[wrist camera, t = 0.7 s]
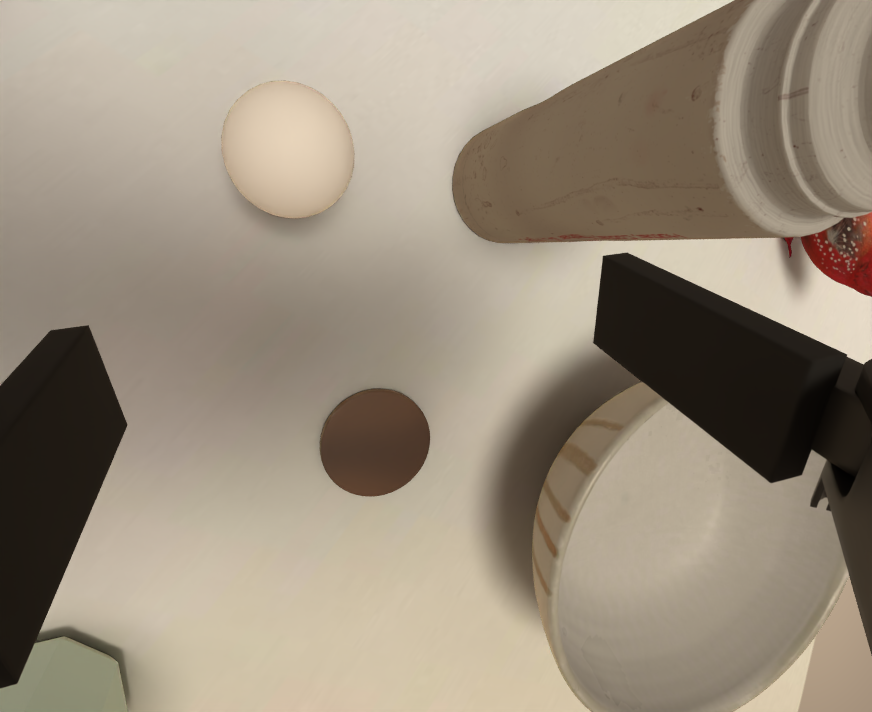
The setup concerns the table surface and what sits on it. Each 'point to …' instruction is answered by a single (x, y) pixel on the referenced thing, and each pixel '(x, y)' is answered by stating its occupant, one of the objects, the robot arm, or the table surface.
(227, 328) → the table surface
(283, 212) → the lightbulb
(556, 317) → the table surface
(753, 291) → the table surface
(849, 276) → the decorative bird figurine
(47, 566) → the robot arm
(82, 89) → the table surface
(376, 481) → the walnut coaster
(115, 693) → the water bottle
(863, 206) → the thermos bottle
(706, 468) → the decorative bowl
